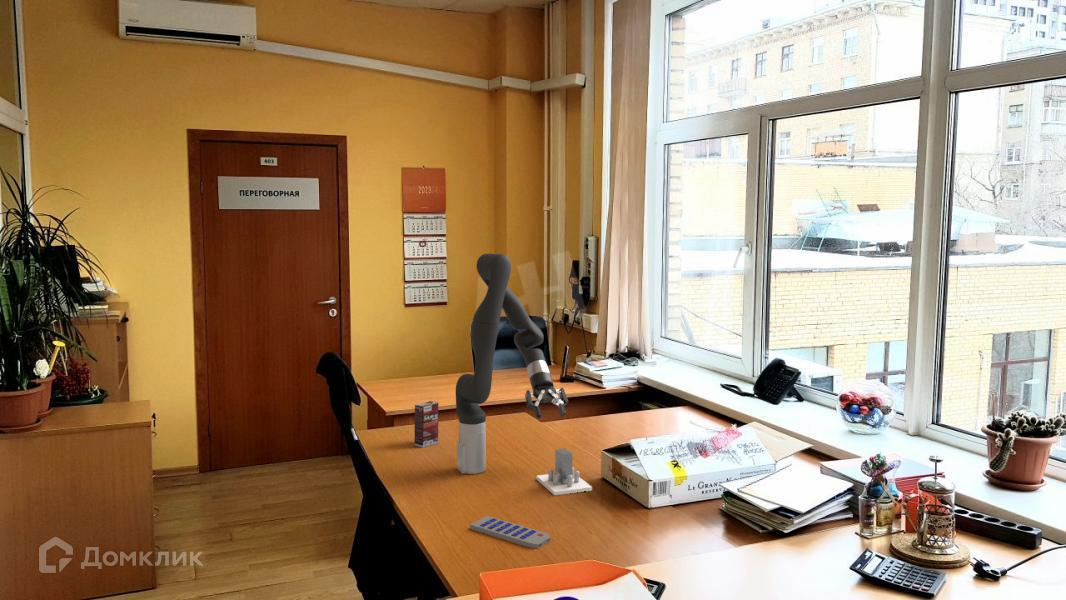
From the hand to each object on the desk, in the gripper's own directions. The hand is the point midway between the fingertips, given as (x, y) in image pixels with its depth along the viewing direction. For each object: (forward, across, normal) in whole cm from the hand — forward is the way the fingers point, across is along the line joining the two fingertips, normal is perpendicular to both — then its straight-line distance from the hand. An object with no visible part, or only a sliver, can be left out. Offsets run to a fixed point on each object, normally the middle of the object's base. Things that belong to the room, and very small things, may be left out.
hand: (551, 416), depth 262 cm
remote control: (+44, -29, -15) cm, 55 cm away
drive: (+21, 0, +6) cm, 22 cm away
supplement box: (-19, -32, +48) cm, 60 cm away
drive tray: (+22, 0, +7) cm, 23 cm away
